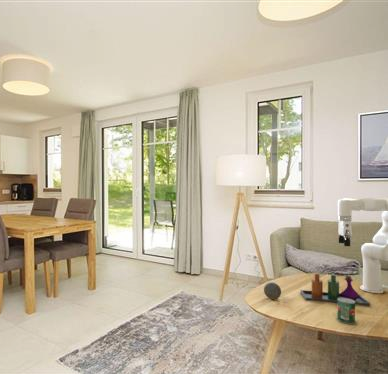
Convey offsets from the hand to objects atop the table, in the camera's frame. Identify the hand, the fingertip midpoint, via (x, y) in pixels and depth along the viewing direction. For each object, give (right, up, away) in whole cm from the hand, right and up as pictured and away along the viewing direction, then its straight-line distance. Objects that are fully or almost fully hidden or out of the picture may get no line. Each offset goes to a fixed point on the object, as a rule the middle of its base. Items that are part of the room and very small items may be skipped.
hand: (344, 244), depth 197 cm
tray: (-13, -33, -9) cm, 36 cm away
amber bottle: (-22, -32, -6) cm, 39 cm away
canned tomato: (-24, -34, -37) cm, 55 cm away
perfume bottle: (-4, -32, -11) cm, 34 cm away
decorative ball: (-50, -33, -6) cm, 60 cm away
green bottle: (-13, -32, -9) cm, 36 cm away
